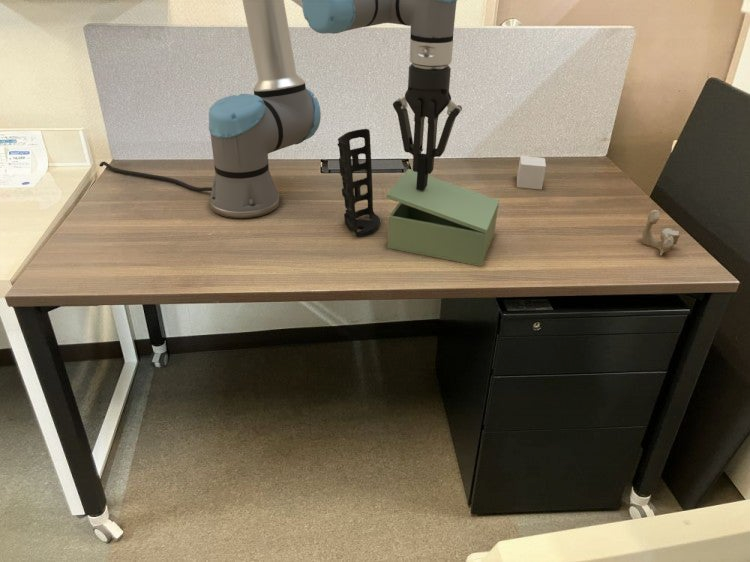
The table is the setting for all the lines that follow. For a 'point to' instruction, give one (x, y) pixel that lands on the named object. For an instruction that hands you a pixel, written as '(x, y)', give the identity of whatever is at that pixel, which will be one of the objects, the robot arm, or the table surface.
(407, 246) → the box
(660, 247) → the beige irregular piece
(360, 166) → the holder
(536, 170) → the white cube
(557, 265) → the table surface
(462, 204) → the lid
